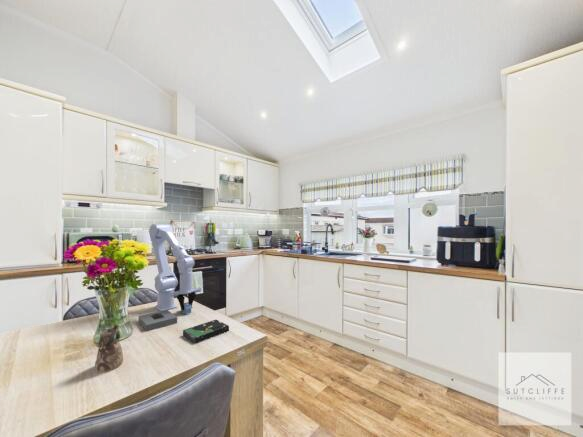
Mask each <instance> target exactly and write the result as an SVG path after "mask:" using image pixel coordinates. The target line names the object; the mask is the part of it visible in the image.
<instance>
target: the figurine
mask: <svg viewBox="0 0 583 437" xmlns="http://www.w3.org/2000/svg"><path fill="white" fill-rule="evenodd" d="M118 328H119V325H118V324H114V326H113V327H110V326H108V327H105V329H103V331H101V332H100V334H99V335H100V336H99V341H98V343H97V344H96V347H97V348H98V350H97V356H96V359H95V363H94V372H96V373H98V374H99V373H108V372H111V371H114V370H115V369H117V368H119V367H120V366H121V365H122V364H123V362H124V354H123V348H122V345H121V343H120V337H121V336H120V335H121V334H120V332H119V331H118V330H117V329H118Z"/></svg>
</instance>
